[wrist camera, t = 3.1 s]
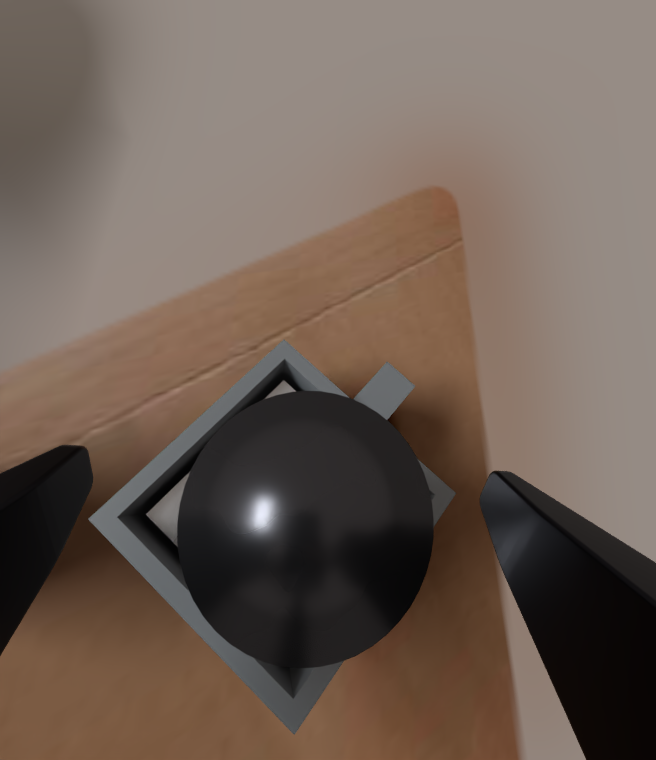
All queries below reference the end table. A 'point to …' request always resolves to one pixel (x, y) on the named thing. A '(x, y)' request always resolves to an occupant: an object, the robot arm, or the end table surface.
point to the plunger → (302, 528)
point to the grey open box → (160, 555)
